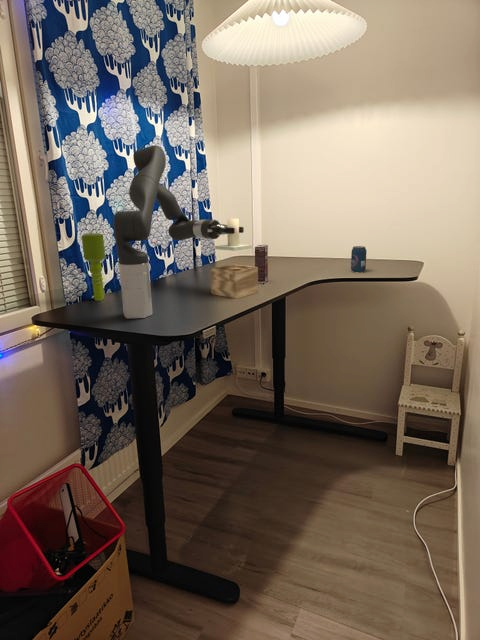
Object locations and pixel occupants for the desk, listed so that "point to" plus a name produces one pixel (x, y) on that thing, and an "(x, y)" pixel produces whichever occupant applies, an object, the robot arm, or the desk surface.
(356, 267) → the soda can
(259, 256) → the supplement box
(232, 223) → the lid
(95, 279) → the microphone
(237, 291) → the box
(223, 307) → the desk surface
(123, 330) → the desk surface
